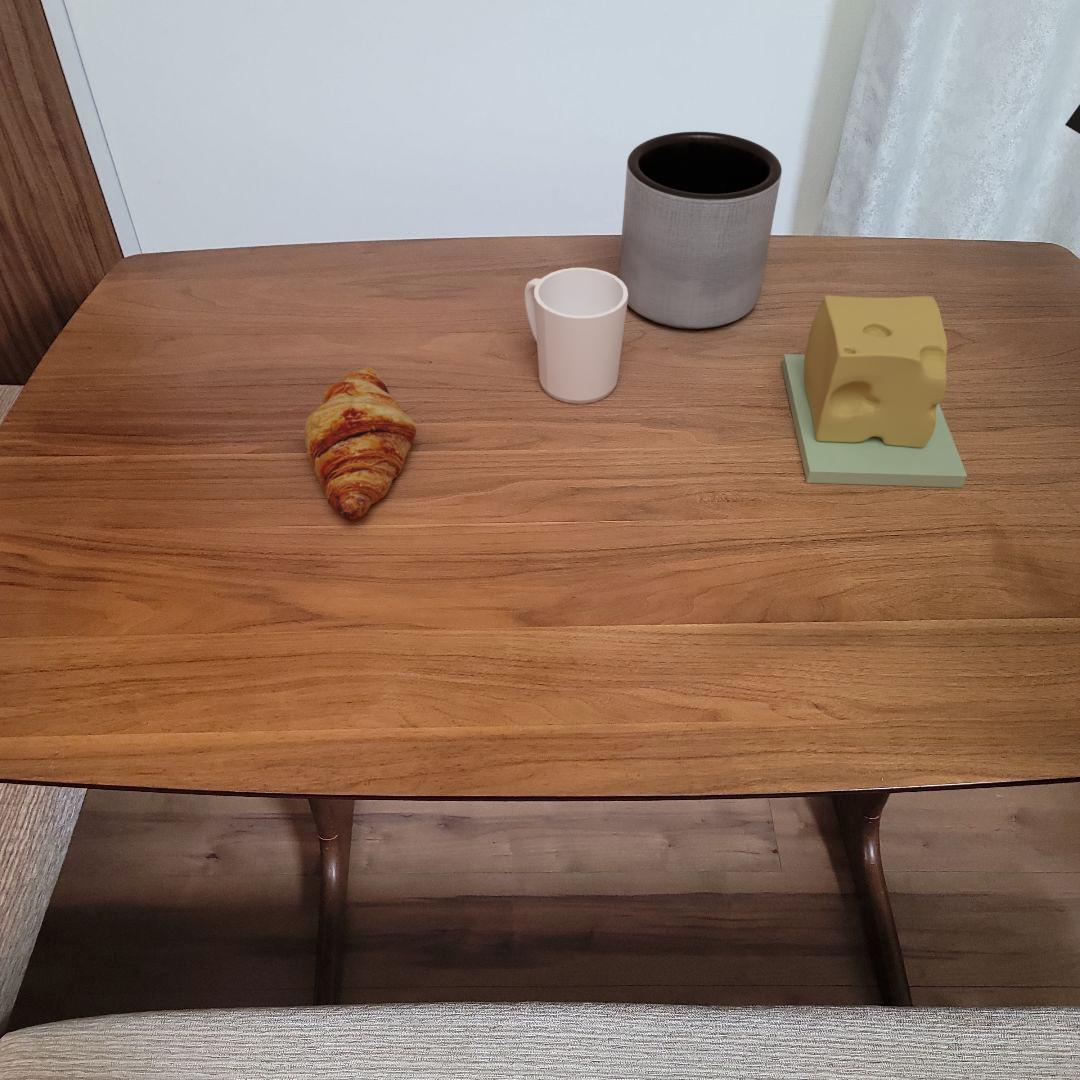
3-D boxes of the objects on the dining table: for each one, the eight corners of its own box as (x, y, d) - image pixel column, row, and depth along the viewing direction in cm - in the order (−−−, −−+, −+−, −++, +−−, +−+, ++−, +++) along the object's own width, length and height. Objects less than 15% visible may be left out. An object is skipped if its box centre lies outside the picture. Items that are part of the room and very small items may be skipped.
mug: (638, 374, 96) (646, 286, 88) (590, 419, 91) (593, 329, 83) (551, 338, 100) (552, 251, 93) (501, 379, 95) (497, 291, 88)
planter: (634, 342, 100) (645, 204, 88) (604, 265, 111) (611, 134, 99) (777, 328, 101) (806, 192, 90) (734, 254, 112) (755, 124, 101)
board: (962, 488, 84) (967, 475, 83) (806, 483, 84) (809, 471, 83) (916, 369, 96) (921, 357, 95) (781, 365, 97) (783, 353, 96)
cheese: (927, 450, 85) (962, 360, 78) (808, 444, 86) (832, 354, 79) (906, 382, 92) (937, 293, 85) (796, 377, 93) (818, 288, 86)
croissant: (345, 414, 97) (295, 359, 92) (426, 372, 94) (380, 313, 89) (331, 561, 82) (271, 505, 77) (427, 516, 79) (372, 455, 74)
